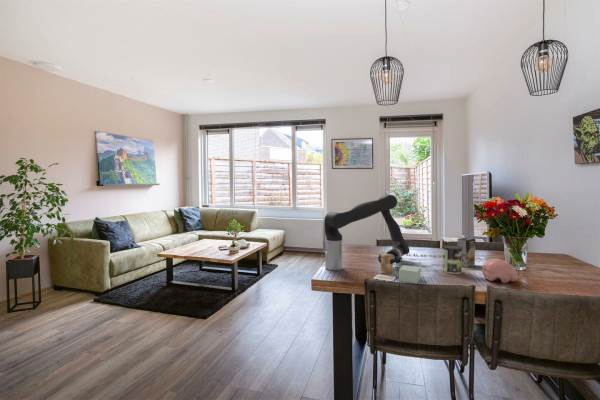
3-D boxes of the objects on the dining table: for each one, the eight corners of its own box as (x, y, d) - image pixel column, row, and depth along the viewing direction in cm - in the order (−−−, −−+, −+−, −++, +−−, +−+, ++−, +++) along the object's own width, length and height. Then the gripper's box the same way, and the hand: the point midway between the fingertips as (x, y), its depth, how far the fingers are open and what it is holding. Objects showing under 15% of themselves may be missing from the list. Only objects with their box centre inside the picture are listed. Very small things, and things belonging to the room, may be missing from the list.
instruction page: (373, 278, 170) (373, 278, 170) (377, 274, 177) (377, 274, 177) (392, 281, 165) (392, 281, 165) (396, 277, 171) (396, 276, 171)
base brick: (398, 280, 166) (398, 269, 166) (403, 276, 174) (403, 265, 174) (417, 283, 162) (417, 271, 161) (420, 278, 169) (420, 267, 169)
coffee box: (467, 267, 188) (467, 240, 187) (456, 265, 194) (457, 238, 192) (475, 265, 194) (475, 238, 192) (464, 262, 199) (465, 237, 198)
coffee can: (465, 271, 180) (465, 246, 179) (455, 275, 174) (456, 249, 173) (447, 267, 188) (447, 244, 187) (437, 271, 182) (438, 246, 181)
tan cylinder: (381, 272, 180) (381, 255, 179) (383, 270, 184) (383, 253, 184) (389, 274, 178) (390, 256, 177) (392, 271, 182) (392, 254, 181)
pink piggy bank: (504, 285, 170) (515, 264, 168) (515, 293, 157) (527, 271, 156) (474, 272, 172) (485, 251, 171) (483, 279, 160) (494, 257, 158)
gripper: (381, 247, 196) (372, 253, 182) (406, 250, 189) (398, 256, 174) (381, 259, 197) (372, 266, 182) (405, 262, 189) (398, 270, 175)
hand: (385, 261), depth 178 cm, fingers closed on tan cylinder, 5 cm apart
